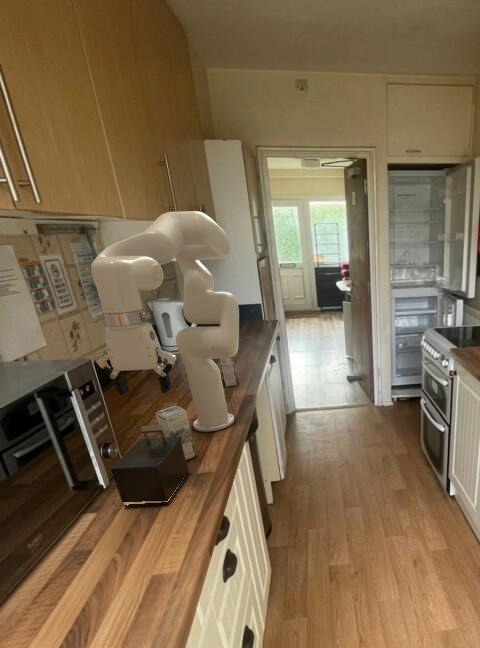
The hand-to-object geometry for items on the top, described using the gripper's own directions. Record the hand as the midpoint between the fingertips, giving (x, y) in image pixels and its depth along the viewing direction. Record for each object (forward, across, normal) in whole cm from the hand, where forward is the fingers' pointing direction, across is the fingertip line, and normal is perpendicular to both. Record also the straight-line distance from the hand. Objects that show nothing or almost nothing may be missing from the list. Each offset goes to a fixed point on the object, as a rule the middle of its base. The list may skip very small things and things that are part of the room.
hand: (145, 392), depth 100 cm
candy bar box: (+23, +3, -73) cm, 77 cm away
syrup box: (+24, 0, -10) cm, 26 cm away
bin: (+24, 0, +6) cm, 24 cm away
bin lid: (+14, 0, +5) cm, 15 cm away
